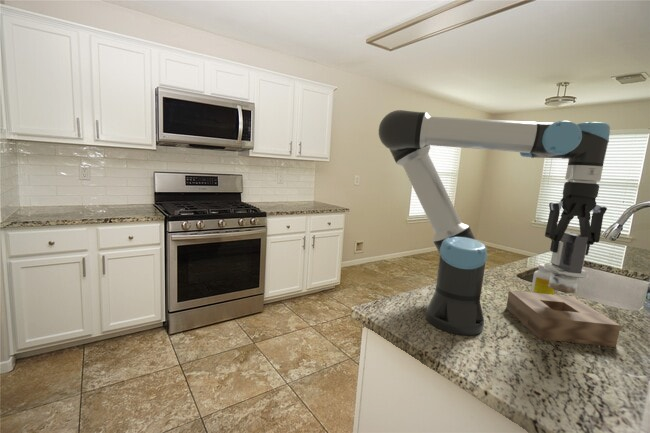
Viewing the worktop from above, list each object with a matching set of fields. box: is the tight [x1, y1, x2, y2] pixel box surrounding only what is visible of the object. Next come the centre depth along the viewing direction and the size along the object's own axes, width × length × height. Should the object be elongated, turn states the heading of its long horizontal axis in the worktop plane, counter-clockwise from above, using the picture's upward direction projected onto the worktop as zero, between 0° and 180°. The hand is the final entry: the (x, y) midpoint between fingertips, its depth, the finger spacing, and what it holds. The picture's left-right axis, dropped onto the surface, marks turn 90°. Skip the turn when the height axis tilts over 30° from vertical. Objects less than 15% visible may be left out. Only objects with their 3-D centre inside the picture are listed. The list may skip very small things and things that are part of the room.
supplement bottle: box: [530, 263, 556, 295], centre depth 111 cm, size 7×7×13 cm
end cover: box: [544, 230, 589, 294], centre depth 91 cm, size 10×10×16 cm
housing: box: [506, 290, 621, 348], centre depth 93 cm, size 19×19×6 cm
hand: (566, 264), depth 91 cm, fingers open, 5 cm apart
